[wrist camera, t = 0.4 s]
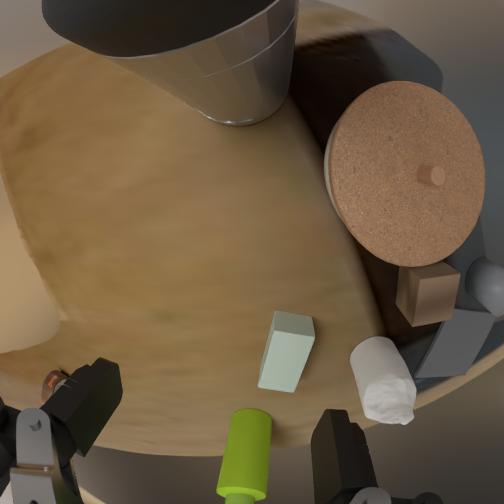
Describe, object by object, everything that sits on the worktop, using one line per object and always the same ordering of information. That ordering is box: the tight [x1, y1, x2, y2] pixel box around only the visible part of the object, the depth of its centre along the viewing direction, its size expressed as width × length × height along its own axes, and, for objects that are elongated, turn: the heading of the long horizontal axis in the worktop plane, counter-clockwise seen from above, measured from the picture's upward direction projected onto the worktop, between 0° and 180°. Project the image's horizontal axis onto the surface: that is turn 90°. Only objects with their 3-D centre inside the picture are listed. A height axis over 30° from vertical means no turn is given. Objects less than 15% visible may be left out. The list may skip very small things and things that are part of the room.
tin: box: [40, 370, 69, 405], centre depth 35 cm, size 15×3×8 cm, turn 165°
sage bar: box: [258, 310, 315, 393], centre depth 27 cm, size 8×4×4 cm, turn 170°
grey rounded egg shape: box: [465, 257, 504, 317], centre depth 22 cm, size 5×5×6 cm
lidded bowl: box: [324, 81, 485, 267], centre depth 17 cm, size 13×13×11 cm
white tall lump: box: [350, 336, 416, 425], centre depth 23 cm, size 6×12×6 cm
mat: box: [414, 307, 496, 378], centre depth 27 cm, size 11×11×1 cm
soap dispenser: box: [216, 409, 272, 504], centre depth 25 cm, size 6×7×20 cm
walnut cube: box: [395, 260, 461, 327], centre depth 23 cm, size 5×5×5 cm
